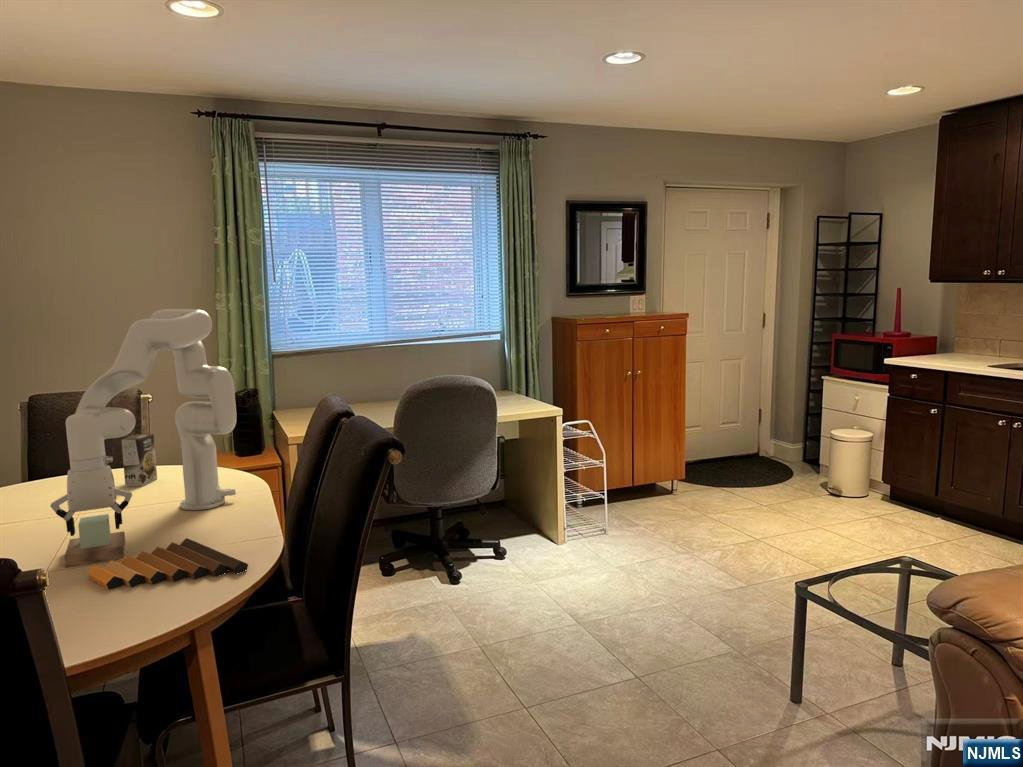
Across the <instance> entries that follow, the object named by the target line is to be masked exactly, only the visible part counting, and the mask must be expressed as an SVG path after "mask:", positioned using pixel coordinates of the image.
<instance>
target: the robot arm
mask: <svg viewBox="0 0 1023 767" xmlns="http://www.w3.org/2000/svg"><path fill="white" fill-rule="evenodd" d="M212 329H213V321H212V318H211V316H210V315H209V313H208V312H206V311H205V310H202V309H196V308H195V309H192V308H191V309H190V308H189V309H188V308H187V309H186V308H185V309H184V308H183V309H180V308H170V309H169V308H168V309H167V308H166V309H165V308H164V309H159V310H156V311H155V312H153V313H152V314H151V316H150V318H142V319H138V320H136V321H134V322H133V323H132V324H131V325H130V327H129V329H128V331H127V334H126V336H125V338H124V340H123V341H122V344H121V347H120V350H119V352H118V354H117V356H116V359H115V361H114V363H113V365H112V367H111V368H109V369H108V370H107V371H106V372H104V373H103V374H102V375H100V376H99V377H98V378H97V379H96V380H95V381H94V382H92V383H91V385H89V386H88V387H87V389H85V391H84V393H83V395H82V397H81V398H80V401H79V403H78V406H77V408H76V411H75V413H73V414H71V415H69V416H68V417H67V418H66V420H65V428H66V429H65V430H66V439H67V448H68V456H69V465H70V469H68V470H67V476H66V493H65V495H62V496H61V497H59V498H57V499H56V500H54V501H52V502H51V503H50V505H49V506H50V508H51V509H52V510H53V511H54V513H55V514H56V515H57V516H58V517H60V518H62V519H63V520H64V521H65V524H66V532H67V533H70V537H74V535H75V534H76V526H75V518H74V517H73V515H74V514H75V513H78V512H86V511H88V512H89V511H92V510H101V509H106V508H110V509H111V510H113V511H114V523H115V529H116V530H120V527H121V526H120V525H123V516H122V512H123V511H124V509H126V508H127V507H128V506H129V503H130V501H131V499H132V497H133V493H132V492H131V491H127V490H125V489H122V488H121V489H120V488H118V487H116V485H115V478H114V475H113V471H112V468H111V465H109V463H113V462H114V460H113V456H108V455H106V449H105V448H106V446H105V440H109V439H117V438H122V437H125V436H127V435H129V434H130V433H132V431H133V430H134V429H135V426H136V417H135V414H134V413H133V412H132V411H130V410H129V409H127V408H124V407H113V406H112V407H111V406H107V405H108V404H109V402H110V401H111V400H112V399H113V398H114V397H115V396H116V395H118V394H120V393H121V392H123V391H126V390H128V389H130V388H132V387H134V386H137V385H139V384H141V383H144V382H145V381H146V380H147V379H148V377H149V375H150V373H151V370H152V367H153V365H154V362H155V360H156V358H157V355H158V354H159V351H169V352H170V351H172V353H173V359H174V365H175V374H176V375H175V377H176V385H177V389H178V392H179V393H180V395H181V396H183V397H185V398H193V399H194V398H195V399H209V400H210V401H188V402H187V401H186V402H183V403H182V404H181V405H180V406H178V408H177V409H176V411H175V414H174V421H175V426H176V428H177V432H178V435H179V440H180V441H179V442H180V449H181V461H182V475H183V476H182V477H183V485H184V486H183V487H184V499H183V500H182V501H180V502H179V508H181V509H182V510H185V511H204V510H209V509H213V508H218V507H220V506H222V505H223V504H225V502H226V497H228V496H236V495H237V494H236V493H237V492H236V488H232V489H231V488H230V487H229V488H228V487H227V488H224V489H223V488H221V486H220V485H219V483H220V482H219V473H218V472H219V471H218V470H219V469H218V460H217V458H218V457H217V446H216V442H215V440H214V438H213V436H212V435H227V434H230V433H232V432H233V431H234V429H235V427H236V426H237V425H236V424H237V405H236V393H235V384H234V379H233V376H232V374H231V372H230V371H229V370H228V369H227V368H225V367H222V366H219V365H218V366H217V365H208V362H207V355H206V349H205V346H204V343H203V342H202V341H203V340H204V339H206V338H207V337H208V336H209V335H210V333H211V331H212ZM117 496H121V497H123V498H124V499H123V501H121V503H120V504H119V503H118V502H117ZM65 502H67V508H68V510H67V511H66V510H64V509H62V508H61V505H62V504H64V503H65Z"/></svg>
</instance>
